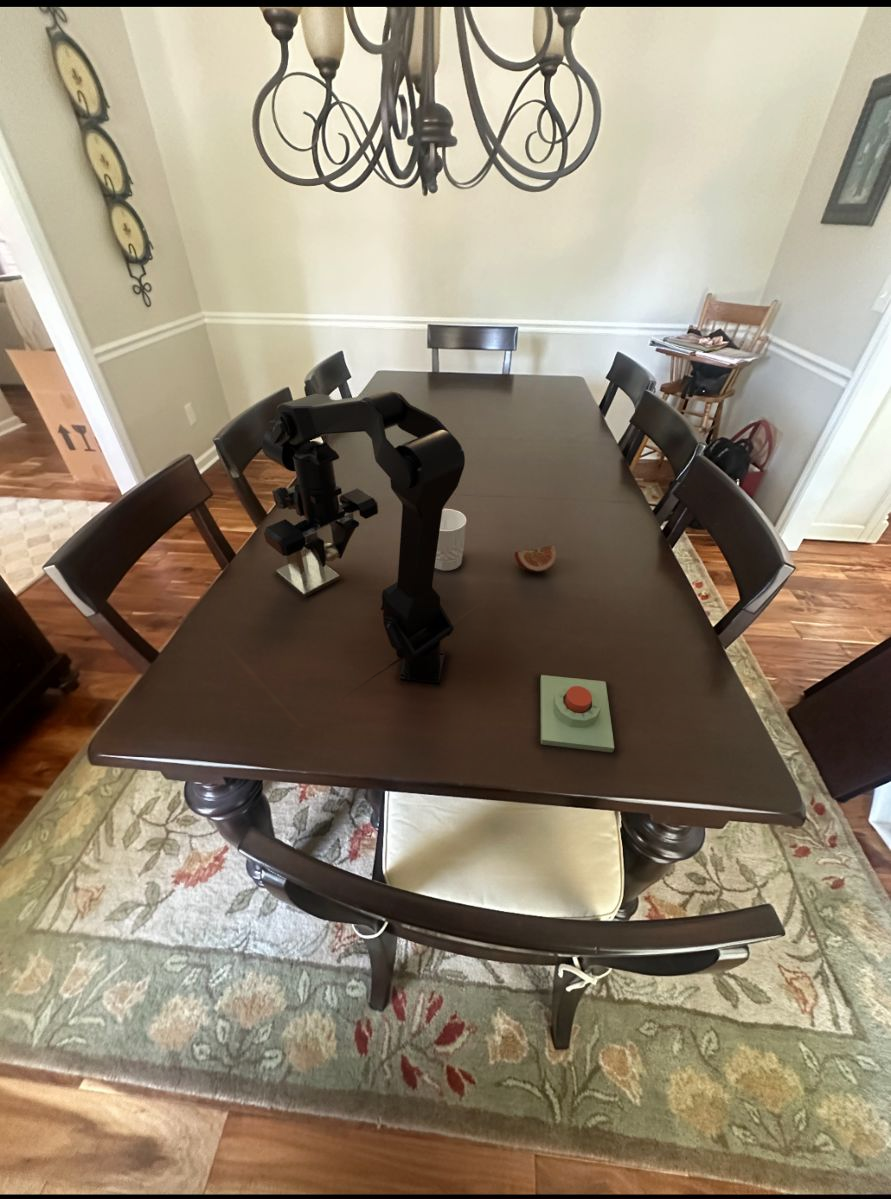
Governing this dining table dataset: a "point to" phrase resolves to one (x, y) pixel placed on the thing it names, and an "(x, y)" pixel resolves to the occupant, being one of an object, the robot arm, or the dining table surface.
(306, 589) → the bracket
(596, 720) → the switchbox
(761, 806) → the dining table surface
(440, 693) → the dining table surface
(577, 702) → the button
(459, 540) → the white cup
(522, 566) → the fruit slice
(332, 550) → the lever
